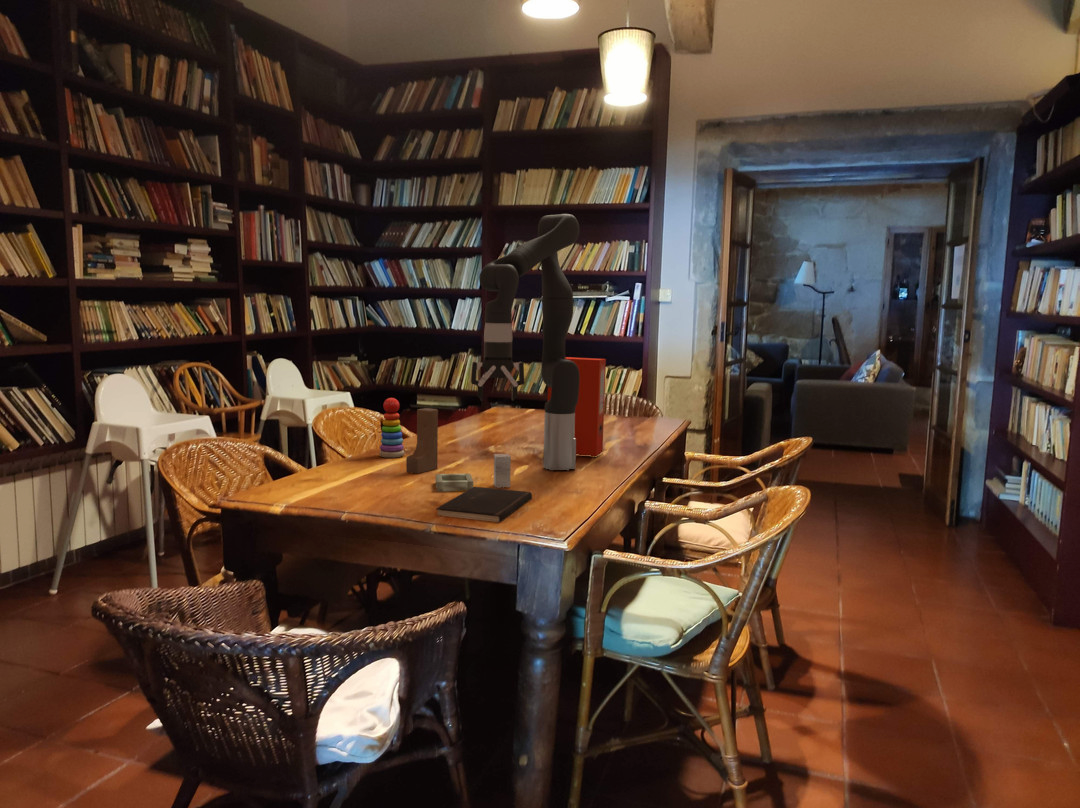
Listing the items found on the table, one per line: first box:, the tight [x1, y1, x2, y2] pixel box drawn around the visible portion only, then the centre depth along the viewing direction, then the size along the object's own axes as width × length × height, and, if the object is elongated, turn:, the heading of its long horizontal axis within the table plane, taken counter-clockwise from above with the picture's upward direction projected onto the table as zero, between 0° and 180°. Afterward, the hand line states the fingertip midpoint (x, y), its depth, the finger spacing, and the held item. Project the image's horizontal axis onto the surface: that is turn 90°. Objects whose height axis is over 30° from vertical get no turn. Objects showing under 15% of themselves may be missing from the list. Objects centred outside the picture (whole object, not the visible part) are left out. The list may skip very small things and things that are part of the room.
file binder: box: [547, 356, 607, 456], centre depth 253 cm, size 8×17×32 cm, turn 70°
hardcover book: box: [435, 486, 533, 523], centre depth 186 cm, size 16×23×2 cm
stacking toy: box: [378, 397, 405, 459], centre depth 243 cm, size 8×8×19 cm
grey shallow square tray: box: [435, 473, 474, 492], centre depth 205 cm, size 10×10×2 cm
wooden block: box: [405, 407, 439, 474], centre depth 223 cm, size 9×4×18 cm, turn 146°
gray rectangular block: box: [493, 453, 512, 489], centre depth 207 cm, size 4×4×8 cm
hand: (497, 400), depth 206 cm, fingers open, 8 cm apart
